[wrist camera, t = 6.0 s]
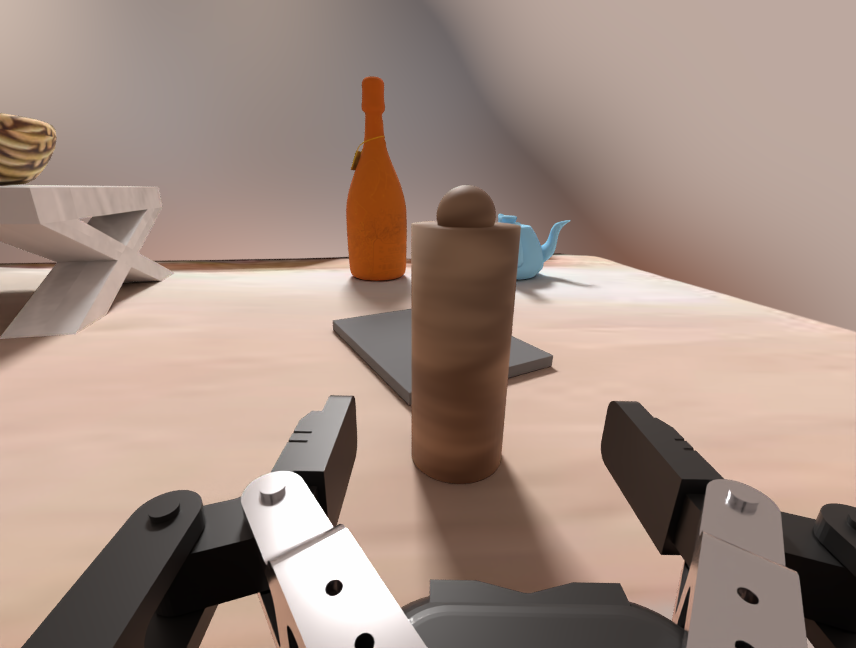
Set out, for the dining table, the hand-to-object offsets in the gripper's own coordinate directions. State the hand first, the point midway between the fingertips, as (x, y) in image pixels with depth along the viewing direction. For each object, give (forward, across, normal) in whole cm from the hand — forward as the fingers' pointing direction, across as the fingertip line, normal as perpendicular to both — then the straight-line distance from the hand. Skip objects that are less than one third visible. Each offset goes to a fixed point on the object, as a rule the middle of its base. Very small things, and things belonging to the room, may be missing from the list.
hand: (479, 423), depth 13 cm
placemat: (+25, +1, +8) cm, 26 cm away
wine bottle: (+57, +11, +8) cm, 58 cm away
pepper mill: (+9, 0, +8) cm, 12 cm away
